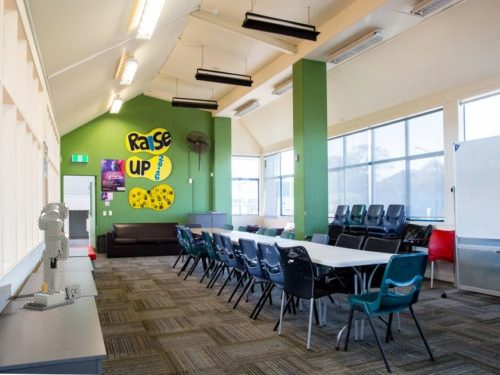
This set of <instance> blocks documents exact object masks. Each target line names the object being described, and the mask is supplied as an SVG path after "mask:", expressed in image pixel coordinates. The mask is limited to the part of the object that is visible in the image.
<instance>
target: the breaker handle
mask: <svg viewBox="0 0 500 375" xmlns="http://www.w3.org/2000/svg"><path fill="white" fill-rule="evenodd" d="M41 287H42V289H41V291H46V292H48V284H47V283H46V284H43V283H42V284H41Z"/></svg>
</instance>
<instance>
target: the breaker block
mask: <svg viewBox="0 0 500 375" xmlns="http://www.w3.org/2000/svg"><path fill="white" fill-rule="evenodd" d="M74 303H75V300H74V299H72V300H69V299H67V298H66V291H61V290H60V291H56V290H49V289H48V292H46V291H42V290H38V292H37V293H34V294H33V302H31V301H30V302H27V303H25V304H23V308H25V309H26V308H27V309H31V310H38V311H42V312H45V311H48V310H52V309H56V308H59V307H64V306H68V305H72V304H74Z"/></svg>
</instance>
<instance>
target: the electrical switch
mask: <svg viewBox="0 0 500 375" xmlns="http://www.w3.org/2000/svg"><path fill="white" fill-rule="evenodd" d="M80 286H81V285H80V283H75V284H70V285H67V286H66V287H65V288H64V289H65V297H66V299H67V300H75V299H79V298H82V292H81V287H80Z"/></svg>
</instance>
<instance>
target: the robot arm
mask: <svg viewBox="0 0 500 375" xmlns="http://www.w3.org/2000/svg"><path fill="white" fill-rule="evenodd" d="M69 210H70V209H69V205H68V204H67V203H66V202H49V203H47V204H46V205H45V208H43V209H42V210H41V211H40V215H39V217H38V224H37V225H38V229H39V230H41V231H44V244H45V248H44V250H42V253H41V256H42V263H43V264H42V265H43V272H42V276H43V278H42V280H43V281H42V284H46V283H47V284H48V289H49V290H56V291H61V290H60V289H59V266H58V262H63V261H67V260H69V258H70V237H69V234H68V233H67V232H61V230H62V229H63V227H64V221H65V220H67V218H68V216H69ZM40 289H41V290H42V286H41V287H40Z"/></svg>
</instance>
